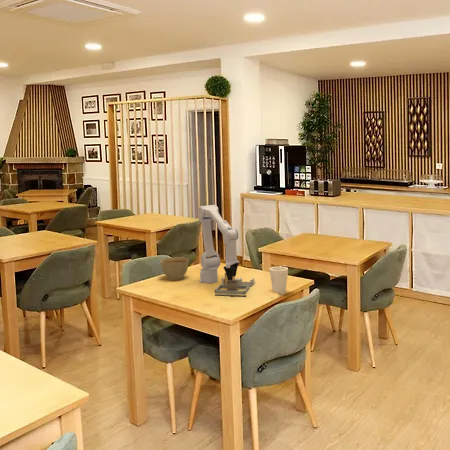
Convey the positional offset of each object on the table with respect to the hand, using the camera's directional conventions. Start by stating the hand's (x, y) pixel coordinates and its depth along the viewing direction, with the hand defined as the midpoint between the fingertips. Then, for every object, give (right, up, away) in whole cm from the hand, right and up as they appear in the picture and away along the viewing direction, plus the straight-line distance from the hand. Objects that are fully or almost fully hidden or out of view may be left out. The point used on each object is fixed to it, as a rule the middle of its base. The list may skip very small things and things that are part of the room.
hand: (231, 278), depth 290 cm
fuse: (-1, -4, +15) cm, 15 cm away
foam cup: (+25, -8, -1) cm, 26 cm away
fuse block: (+4, -6, +14) cm, 15 cm away
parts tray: (0, -8, +1) cm, 8 cm away
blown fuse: (0, -7, +1) cm, 7 cm away
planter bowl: (-32, -4, +36) cm, 48 cm away
